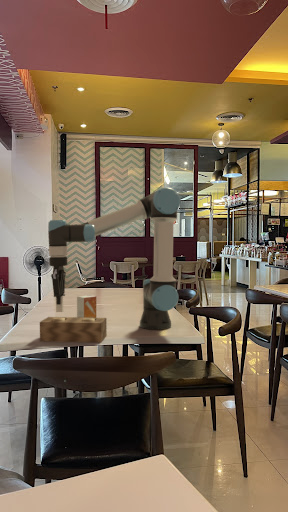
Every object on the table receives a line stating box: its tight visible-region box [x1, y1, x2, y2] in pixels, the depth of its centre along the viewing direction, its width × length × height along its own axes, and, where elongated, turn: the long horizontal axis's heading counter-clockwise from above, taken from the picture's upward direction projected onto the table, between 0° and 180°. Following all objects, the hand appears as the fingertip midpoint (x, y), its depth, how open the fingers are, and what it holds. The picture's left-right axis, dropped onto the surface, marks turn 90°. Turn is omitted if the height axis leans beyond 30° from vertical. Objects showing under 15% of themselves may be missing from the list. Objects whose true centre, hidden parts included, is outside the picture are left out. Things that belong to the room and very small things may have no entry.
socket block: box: [39, 316, 108, 343], centre depth 172 cm, size 26×11×8 cm, turn 84°
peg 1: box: [53, 318, 65, 321], centre depth 173 cm, size 5×5×8 cm
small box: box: [76, 295, 97, 318], centre depth 207 cm, size 8×6×13 cm
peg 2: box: [83, 318, 95, 322], centre depth 171 cm, size 5×5×8 cm
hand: (59, 311), depth 172 cm, fingers closed
